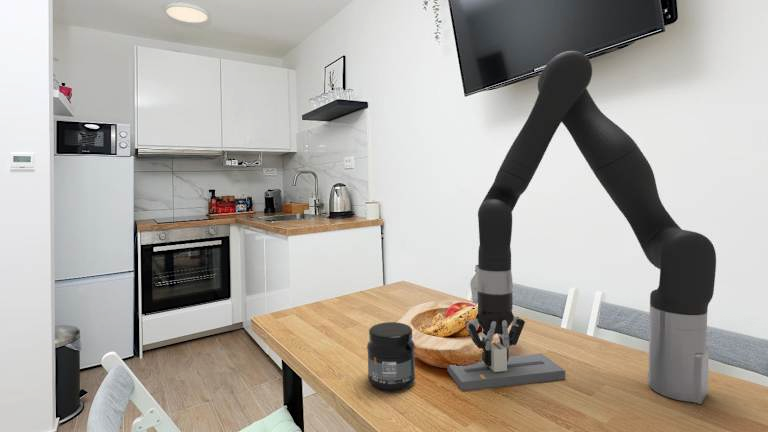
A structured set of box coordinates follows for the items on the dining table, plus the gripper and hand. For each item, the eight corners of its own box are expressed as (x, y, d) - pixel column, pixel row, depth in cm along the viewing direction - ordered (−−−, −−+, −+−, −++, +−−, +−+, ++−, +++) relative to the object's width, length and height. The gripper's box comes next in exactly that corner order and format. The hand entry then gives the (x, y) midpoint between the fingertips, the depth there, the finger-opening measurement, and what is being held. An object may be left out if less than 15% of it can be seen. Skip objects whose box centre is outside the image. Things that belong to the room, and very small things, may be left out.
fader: (496, 360, 88) (496, 339, 88) (506, 370, 83) (506, 348, 83) (484, 362, 87) (484, 340, 87) (494, 372, 82) (494, 349, 82)
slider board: (541, 361, 92) (541, 352, 92) (565, 379, 83) (565, 369, 83) (447, 371, 88) (447, 362, 88) (461, 391, 79) (461, 381, 79)
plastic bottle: (495, 337, 108) (494, 268, 107) (470, 335, 109) (470, 267, 108) (493, 329, 114) (492, 263, 113) (470, 328, 116) (469, 263, 114)
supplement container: (398, 366, 91) (397, 318, 90) (425, 385, 82) (424, 331, 81) (359, 378, 86) (358, 327, 85) (383, 400, 77) (382, 342, 76)
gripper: (515, 282, 89) (515, 354, 90) (458, 286, 87) (459, 359, 88) (533, 290, 82) (533, 368, 83) (471, 295, 79) (472, 375, 80)
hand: (495, 363), depth 85 cm, fingers closed on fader, 3 cm apart
